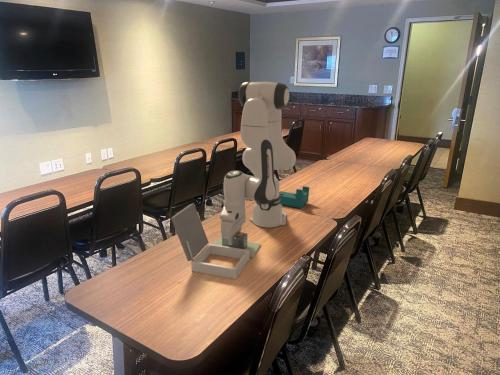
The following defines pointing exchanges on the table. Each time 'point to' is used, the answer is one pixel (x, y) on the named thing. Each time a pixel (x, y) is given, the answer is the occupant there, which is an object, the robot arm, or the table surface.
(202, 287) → the table surface
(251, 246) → the sage mat
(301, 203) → the teal l-shaped bracket
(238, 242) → the module
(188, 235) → the case lid
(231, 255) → the equipment case
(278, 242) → the table surface
